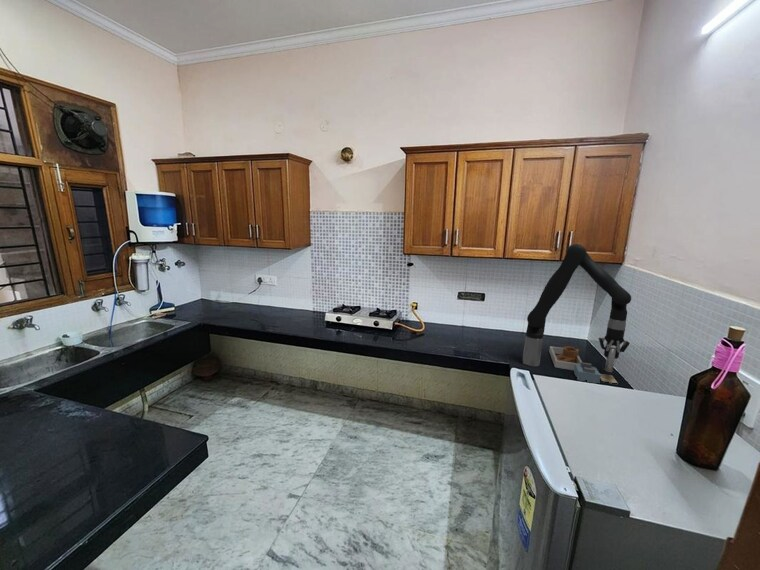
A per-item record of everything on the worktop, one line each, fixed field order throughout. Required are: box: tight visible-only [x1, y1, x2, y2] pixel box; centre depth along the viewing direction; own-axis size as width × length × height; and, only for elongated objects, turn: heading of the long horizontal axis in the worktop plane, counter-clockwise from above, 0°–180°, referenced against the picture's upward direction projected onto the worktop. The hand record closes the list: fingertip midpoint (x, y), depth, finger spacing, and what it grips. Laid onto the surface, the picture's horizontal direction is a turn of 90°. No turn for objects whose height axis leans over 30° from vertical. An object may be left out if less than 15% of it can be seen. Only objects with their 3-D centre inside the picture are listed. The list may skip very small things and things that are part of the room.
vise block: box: [573, 361, 601, 384], centre depth 172 cm, size 10×10×7 cm
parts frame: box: [548, 345, 583, 371], centre depth 193 cm, size 14×24×4 cm, turn 159°
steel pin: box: [604, 346, 617, 373], centre depth 169 cm, size 4×4×13 cm
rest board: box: [600, 373, 619, 385], centre depth 171 cm, size 7×9×1 cm
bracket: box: [555, 346, 580, 363], centre depth 193 cm, size 18×8×7 cm, turn 119°
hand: (610, 357), depth 169 cm, fingers closed on steel pin, 3 cm apart
